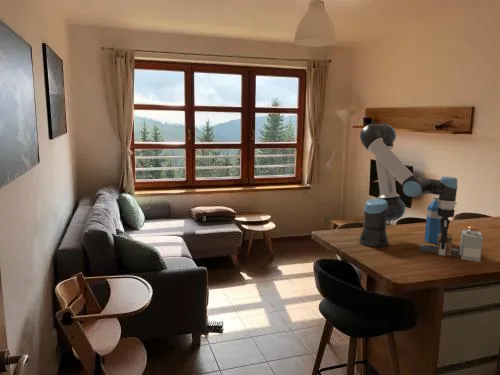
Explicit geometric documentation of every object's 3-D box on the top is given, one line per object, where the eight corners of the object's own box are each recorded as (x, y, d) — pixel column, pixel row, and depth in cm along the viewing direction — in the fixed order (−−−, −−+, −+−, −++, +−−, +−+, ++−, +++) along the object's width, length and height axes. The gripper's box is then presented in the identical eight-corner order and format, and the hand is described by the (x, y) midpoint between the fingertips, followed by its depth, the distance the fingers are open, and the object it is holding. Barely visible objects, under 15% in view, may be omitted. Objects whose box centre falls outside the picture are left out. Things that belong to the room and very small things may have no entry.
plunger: (467, 239, 194) (468, 227, 193) (466, 237, 198) (467, 225, 197) (477, 240, 193) (478, 228, 191) (476, 238, 196) (477, 226, 195)
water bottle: (444, 244, 217) (449, 199, 212) (426, 243, 219) (430, 198, 214) (440, 239, 226) (444, 195, 221) (422, 238, 228) (426, 195, 223)
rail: (419, 252, 204) (419, 246, 203) (419, 249, 208) (419, 243, 208) (458, 257, 197) (459, 251, 196) (457, 254, 201) (458, 248, 201)
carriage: (437, 254, 199) (439, 235, 198) (436, 250, 206) (438, 232, 204) (450, 256, 197) (452, 237, 195) (449, 251, 203) (451, 233, 202)
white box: (461, 259, 194) (464, 235, 192) (459, 253, 203) (462, 230, 201) (480, 262, 191) (483, 237, 188) (477, 255, 200) (480, 232, 198)
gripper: (455, 213, 187) (450, 260, 191) (453, 205, 205) (449, 247, 209) (438, 211, 190) (433, 257, 194) (437, 203, 208) (433, 245, 212)
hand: (441, 252), depth 202 cm, fingers closed on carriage, 7 cm apart
